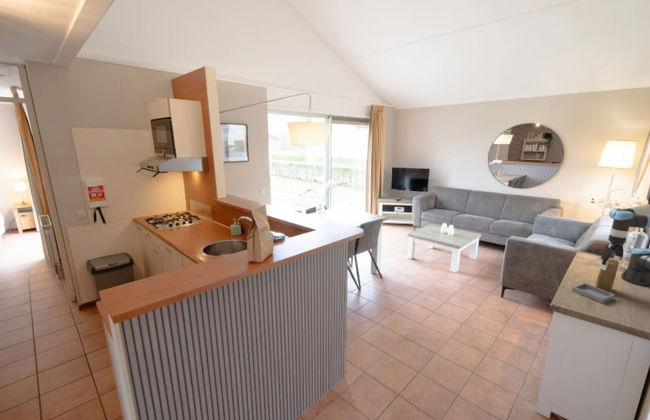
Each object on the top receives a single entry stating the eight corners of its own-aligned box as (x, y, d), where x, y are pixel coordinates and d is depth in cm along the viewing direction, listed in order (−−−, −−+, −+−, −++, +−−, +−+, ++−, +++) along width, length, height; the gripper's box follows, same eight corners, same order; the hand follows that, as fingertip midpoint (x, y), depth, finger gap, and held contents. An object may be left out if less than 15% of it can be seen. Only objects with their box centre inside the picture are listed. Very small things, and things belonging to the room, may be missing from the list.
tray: (583, 286, 192) (584, 282, 192) (613, 298, 179) (614, 294, 178) (571, 290, 188) (572, 286, 187) (602, 303, 174) (603, 299, 173)
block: (609, 294, 184) (617, 265, 179) (593, 289, 189) (601, 260, 184) (612, 288, 190) (621, 260, 185) (597, 284, 196) (605, 256, 191)
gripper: (620, 231, 189) (611, 261, 194) (599, 236, 179) (590, 268, 184) (636, 235, 182) (626, 266, 187) (614, 240, 172) (605, 273, 178)
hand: (608, 267), depth 186 cm, fingers open, 13 cm apart
